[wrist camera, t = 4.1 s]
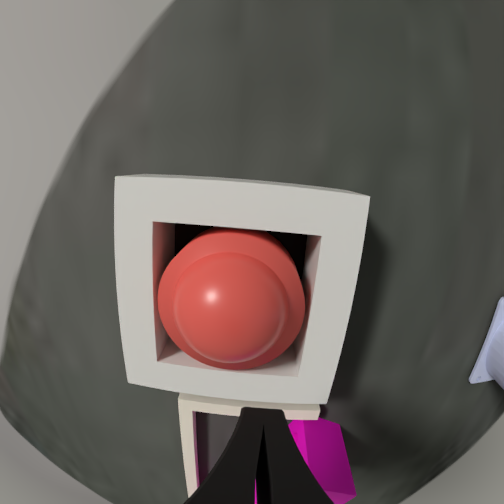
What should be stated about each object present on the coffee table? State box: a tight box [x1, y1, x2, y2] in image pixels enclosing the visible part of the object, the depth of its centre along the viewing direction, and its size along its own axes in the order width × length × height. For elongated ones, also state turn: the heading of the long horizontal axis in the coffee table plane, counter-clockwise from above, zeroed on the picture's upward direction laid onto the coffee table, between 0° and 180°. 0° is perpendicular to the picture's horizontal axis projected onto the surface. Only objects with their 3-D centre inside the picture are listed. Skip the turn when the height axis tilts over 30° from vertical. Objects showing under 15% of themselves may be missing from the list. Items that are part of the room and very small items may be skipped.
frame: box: [178, 392, 320, 497], centre depth 23 cm, size 10×20×1 cm, turn 175°
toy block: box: [255, 417, 357, 504], centre depth 20 cm, size 15×6×8 cm, turn 150°
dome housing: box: [114, 174, 370, 404], centre depth 17 cm, size 12×12×4 cm
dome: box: [158, 226, 305, 370], centre depth 15 cm, size 7×7×6 cm
